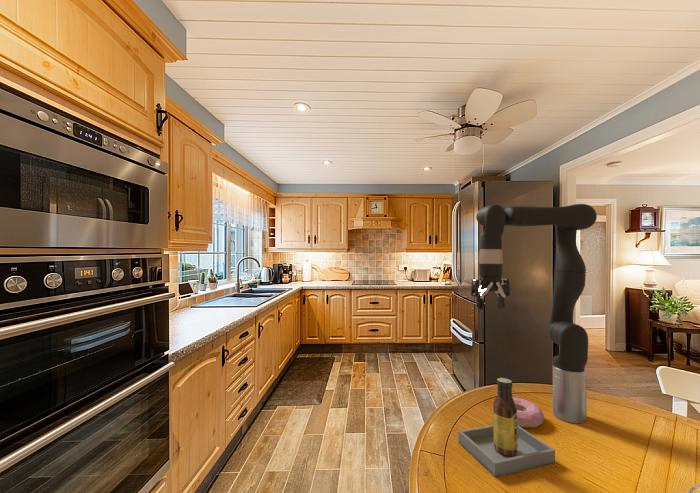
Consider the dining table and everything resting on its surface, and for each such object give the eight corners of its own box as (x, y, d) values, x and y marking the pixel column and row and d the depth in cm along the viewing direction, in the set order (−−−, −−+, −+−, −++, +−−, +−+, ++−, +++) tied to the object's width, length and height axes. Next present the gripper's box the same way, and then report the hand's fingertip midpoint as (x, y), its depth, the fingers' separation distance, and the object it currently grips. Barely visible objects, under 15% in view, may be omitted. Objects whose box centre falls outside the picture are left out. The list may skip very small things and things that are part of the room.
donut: (484, 410, 113) (484, 396, 113) (519, 405, 117) (519, 392, 117) (517, 434, 98) (517, 418, 98) (555, 428, 102) (555, 412, 102)
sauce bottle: (520, 459, 85) (520, 386, 85) (496, 455, 86) (496, 384, 87) (513, 445, 91) (513, 377, 92) (490, 441, 93) (491, 375, 93)
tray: (512, 432, 99) (512, 421, 99) (555, 463, 84) (555, 450, 84) (458, 442, 93) (458, 430, 93) (494, 477, 79) (494, 463, 79)
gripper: (499, 262, 113) (499, 306, 113) (466, 262, 109) (466, 307, 109) (515, 262, 106) (515, 309, 106) (480, 262, 102) (480, 311, 102)
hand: (490, 308), depth 107 cm, fingers open, 8 cm apart
